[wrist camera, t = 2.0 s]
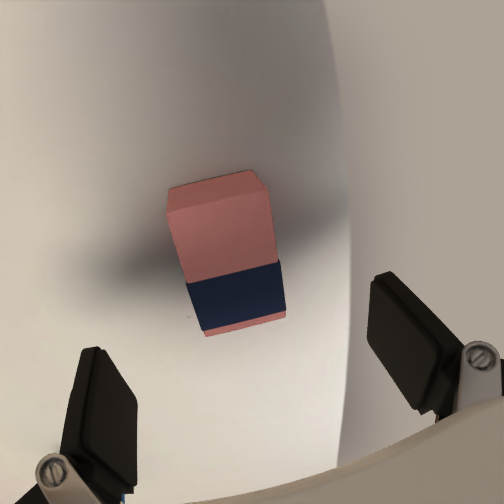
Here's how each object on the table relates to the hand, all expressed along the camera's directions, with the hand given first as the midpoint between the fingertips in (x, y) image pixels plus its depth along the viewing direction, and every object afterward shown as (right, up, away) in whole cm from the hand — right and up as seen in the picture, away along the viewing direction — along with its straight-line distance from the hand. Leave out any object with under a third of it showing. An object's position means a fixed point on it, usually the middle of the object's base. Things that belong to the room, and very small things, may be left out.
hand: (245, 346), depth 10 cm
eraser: (-1, +4, +6) cm, 7 cm away
